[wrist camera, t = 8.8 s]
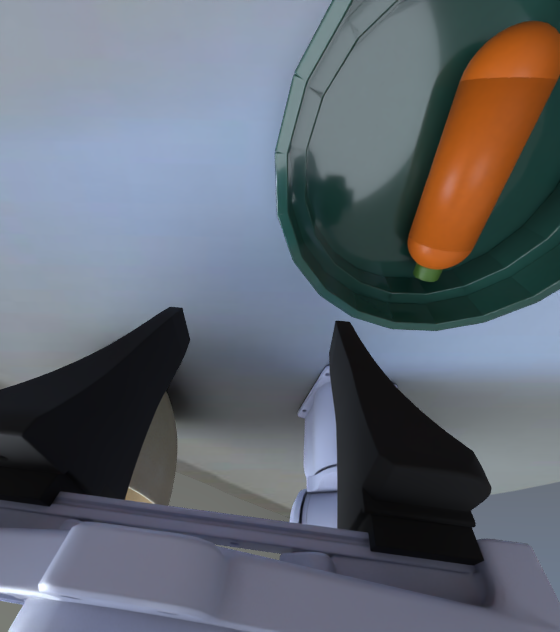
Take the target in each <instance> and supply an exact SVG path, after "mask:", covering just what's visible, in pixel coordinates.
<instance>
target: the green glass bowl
mask: <svg viewBox="0 0 560 632" xmlns="http://www.w3.org/2000/svg"><path fill="white" fill-rule="evenodd" d="M526 21H541V22H545V23H548V24H550V25H551V26H553V27H554V28H556V29H557V31H558V32H559V34H560V0H332V2H331V4H330V6H329V8H328V10H327V11H326V13H325V15H324V17H323V19H322V21H321V23H320V25H319V27H318V29H317V30H316V32H315V34H314V36H313V38H312V40H311V42H310V44H309V46H308V47H307V49H306V51H305V53H304V55H303V57H302V59H301V61H300V63H299V65H298V66H297V68H296V70H295V74H294V75H293V79H292V83H291V87H290V91H289V95H288V99H287V104H286V108H285V112H284V116H283V120H282V124H281V128H280V133H279V137H278V141H277V145H276V149H275V173H276V204H277V216H278V219H279V222H280V225H281V228H282V230H283V233H284V236H285V239H286V242H287V245H288V248H289V251H290V254H291V256H292V259H293V261H294V263H295V264H296V265H297V267H298V268H299V269H300V271H301V272H302V273H303V274H304V276H305V277H306V278H307V280H308V281H309V282H310V284H311V285H312V286H313V287H314V289H315V290H316V291H317V293H318V294H319V295H320V296H321V297H323V298H324V299H326V300H327V301H329V302H330V303H332V304H333V305H335V306H336V307H338V308H339V309H341V310H342V311H344V312H345V313H347V314H348V315H350V316H351V317H354V318H357V319H360V320H364V321H367V322H370V323H373V324H377V325H380V326H383V327H386V328H390V329H404V330H426V331H438V330H444V329H450V328H456V327H461V326H467V325H473V324H479V323H484V322H487V321H489V320H492V319H495V318H497V317H500V316H503V315H505V314H508V313H511V312H513V311H516V310H519V309H521V308H524V307H527V306H529V305H532V304H535V303H537V302H539V301H541V300H542V299H544V298H546V297H547V296H549V295H551V294H552V293H554V292H556V291H558V290H559V289H560V75H559V78H558V80H557V82H556V84H555V86H554V88H553V90H552V92H551V94H550V96H549V98H548V100H547V102H546V104H545V106H544V108H543V110H542V112H541V114H540V116H539V118H538V120H537V122H536V124H535V126H534V128H533V130H532V132H531V134H530V136H529V138H528V140H527V142H526V144H525V146H524V148H523V150H522V152H521V154H520V156H519V158H518V160H517V162H516V164H515V166H514V168H513V170H512V172H511V174H510V176H509V178H508V180H507V182H506V184H505V186H504V188H503V190H502V192H501V194H500V196H499V198H498V200H497V202H496V204H495V206H494V208H493V210H492V212H491V214H490V216H489V218H488V220H487V222H486V224H485V226H484V228H483V230H482V232H481V234H480V236H479V238H478V240H477V242H476V244H475V246H474V248H473V250H472V251H471V253H470V254H469V255H468V256H467V257H466V258H465V259H464V260H463V261H462V262H460V263H459V264H457V265H455V266H453V267H450V268H446V269H443V270H442V273H441V275H440V277H439V279H438V280H437V281H435V282H427V281H423V280H420V279H418V278H416V277H415V276H414V275H413V270H414V268H415V265H416V262H415V261H414V259H413V258H412V257H411V255H410V253H409V250H408V236H409V232H410V229H411V226H412V223H413V220H414V217H415V214H416V211H417V208H418V205H419V202H420V199H421V196H422V193H423V190H424V187H425V184H426V181H427V178H428V175H429V172H430V169H431V166H432V163H433V160H434V157H435V154H436V151H437V148H438V145H439V142H440V139H441V136H442V133H443V130H444V127H445V124H446V121H447V118H448V115H449V112H450V109H451V106H452V103H453V100H454V97H455V94H456V91H457V88H458V84H459V82H460V79H461V77H462V75H463V72H464V70H465V69H466V67H467V65H468V64H469V62H470V60H471V59H472V58H473V57H474V55H475V54H476V53H477V51H478V50H479V49H480V48H481V47H482V46H483V45H484V44H485V43H486V42H487V41H488V40H490V39H491V38H492V37H494V36H495V35H496V34H498V33H499V32H501V31H503V30H505V29H506V28H508V27H510V26H513V25H516V24H518V23H521V22H526Z"/></svg>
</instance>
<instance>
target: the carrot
mask: <svg viewBox="0 0 560 632" xmlns="http://www.w3.org/2000/svg"><path fill="white" fill-rule="evenodd" d="M559 75H560V34H559V32H558V31H557V29H556V28H554V27H553V26H551V25H550V24H548V23H545V22H541V21H526V22H521V23H518V24H516V25H513V26H510V27H508V28H506V29H505V30H503V31H501V32H499V33H498V34H496V35H495V36H494V37H492V38H491V39H490V40H488V41H487V42H486V43H485V44H484V45H483V46H482V47H481V48H480V49H479V50H478V51H477V53H476V54H475V55H474V57H473V58H472V59H471V60H470V62H469V64H468V65H467V67H466V69H465V70H464V72H463V75H462V77H461V79H460V82H459V84H458V88H457V91H456V94H455V97H454V100H453V103H452V106H451V109H450V112H449V115H448V118H447V121H446V124H445V127H444V130H443V133H442V136H441V139H440V142H439V145H438V148H437V151H436V154H435V157H434V160H433V163H432V166H431V169H430V172H429V175H428V178H427V181H426V184H425V187H424V190H423V193H422V196H421V199H420V202H419V205H418V208H417V211H416V214H415V217H414V220H413V223H412V226H411V229H410V232H409V236H408V250H409V253H410V255H411V257H412V258H413V259H414V261H415V262H416V265H415V268H414V270H413V275H414V276H415V277H416V278H418V279H420V280H423V281H427V282H435V281H437V280H438V279H439V277H440V275H441V273H442V270H443V269H446V268H450V267H453V266H455V265H457V264H459V263H460V262H462V261H463V260H464V259H465V258H466V257H467V256H468V255H469V254H470V253H471V251H472V250H473V248H474V246H475V244H476V242H477V240H478V238H479V236H480V234H481V232H482V230H483V228H484V226H485V224H486V222H487V220H488V218H489V216H490V214H491V212H492V210H493V208H494V206H495V204H496V202H497V200H498V198H499V196H500V194H501V192H502V190H503V188H504V186H505V184H506V182H507V180H508V178H509V176H510V174H511V172H512V170H513V168H514V166H515V164H516V162H517V160H518V158H519V156H520V154H521V152H522V150H523V148H524V146H525V144H526V142H527V140H528V138H529V136H530V134H531V132H532V130H533V128H534V126H535V124H536V122H537V120H538V118H539V116H540V114H541V112H542V110H543V108H544V106H545V104H546V102H547V100H548V98H549V96H550V94H551V92H552V90H553V88H554V86H555V84H556V82H557V80H558V78H559Z"/></svg>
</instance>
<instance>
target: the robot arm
mask: <svg viewBox="0 0 560 632" xmlns="http://www.w3.org/2000/svg"><path fill="white" fill-rule="evenodd" d="M189 342H190V337H189V333H188V329H187V325H186V321H185V317H184V313H183V309H182V308H178V307H169V308H167V309H165V310H164V311H162V312H161V313H159V314H158V315H156V316H155V317H153V318H152V319H150V320H149V321H147V322H146V323H144V324H142V325H141V326H139V327H138V328H136V329H135V330H133V331H132V332H130V333H128V334H127V335H125V336H123V337H122V338H120V339H118V340H117V341H115V342H113V343H112V344H110V345H108V346H106V347H105V348H103V349H101V350H99V351H97V352H95V353H93V354H91V355H89V356H87V357H85V358H83V359H81V360H78V361H76V362H74V363H71V364H69V365H67V366H65V367H62V368H60V369H58V370H55V371H53V372H50V373H48V374H45V375H42V376H40V377H37V378H34V379H31V380H29V381H26V382H23V383H20V384H17V385H14V386H11V387H7V388H4V389H1V390H0V601H5V602H11V603H17V604H22V605H23V607H22V608H21V610H20V612H19V613H18V615H17V617H16V618H15V620H14V622H13V623H12V625H11V627H10V629H9V630H8V632H560V602H559V601H558V599H557V597H556V595H555V593H554V591H553V589H552V587H551V585H550V583H549V581H548V579H547V577H546V575H545V573H544V571H543V569H542V567H541V565H540V563H539V561H538V559H537V557H536V555H535V553H534V551H533V549H532V547H531V546H530V545H528V544H525V543H518V542H511V541H503V540H495V539H479V540H476V538H475V535H474V532H473V530H472V527H475V520H474V518H473V515H472V513H471V510H472V509H474V508H475V507H476V506H478V505H479V504H480V503H482V502H483V501H484V500H485V499H486V498H487V497H488V496H489V495H490V493H491V485H490V483H489V481H488V479H487V477H486V475H485V472H484V470H483V468H482V466H481V464H480V463H479V461H478V459H477V457H476V456H475V454H474V452H473V451H472V450H470V449H469V448H468V447H466V446H465V445H464V444H462V443H461V442H460V441H458V440H457V439H455V438H454V437H453V436H451V435H450V434H449V433H447V432H446V431H445V430H443V429H442V428H441V427H440V426H438V425H437V424H436V423H435V422H433V421H432V420H431V419H430V418H429V417H427V416H426V415H425V414H424V413H423V412H422V411H420V410H419V409H418V408H417V407H416V406H415V405H414V404H413V403H412V402H411V401H410V400H409V399H408V398H406V397H405V396H404V395H403V394H402V393H401V392H400V391H399V390H398V387H397V385H396V384H393V383H392V382H391V381H390V380H389V378H388V377H387V376H386V375H385V374H384V372H383V371H382V370H381V369H380V367H379V366H378V365H377V363H376V362H375V361H374V359H373V358H372V357H371V355H370V354H369V352H368V351H367V349H366V348H365V346H364V345H363V343H362V342H361V340H360V338H359V337H358V335H357V333H356V332H355V330H354V328H353V326H352V325H351V323H350V322H346V321H336V322H335V327H334V332H333V337H332V342H331V347H330V352H329V366H326V367H325V368H324V370H323V372H322V373H321V375H320V377H319V378H318V380H317V381H316V383H315V385H314V386H313V388H312V390H311V391H310V393H309V395H308V396H307V398H306V399H305V401H304V403H303V404H302V406H301V408H300V409H299V411H298V416H299V417H301V418H305V435H304V472H305V475H306V478H307V489H303V490H301V491H300V492H299V494H298V495H297V498H296V500H295V501H294V503H293V506H292V510H291V515H290V522H285V521H277V520H270V519H263V518H255V517H248V516H240V515H233V514H226V513H218V512H210V511H203V510H196V509H188V508H181V507H174V506H166V505H159V504H151V503H144V502H136V501H129V500H125V497H126V494H127V491H128V488H129V484H130V481H131V478H132V475H133V471H134V468H135V465H136V463H137V460H138V457H139V454H140V451H141V448H142V445H143V443H144V440H145V437H146V435H147V432H148V430H149V427H150V424H151V422H152V420H153V417H154V415H155V412H156V410H157V407H158V405H159V403H160V401H161V399H162V397H163V395H164V393H165V392H166V390H167V388H168V386H169V384H170V382H171V381H172V379H173V377H174V375H175V373H176V371H177V370H178V368H179V366H180V364H181V362H182V360H183V358H184V356H185V353H186V351H187V348H188V345H189ZM215 544H216V545H224V546H230V547H237V548H244V549H251V550H258V551H265V552H273V553H279V554H281V555H280V560H276V559H271V558H267V557H263V556H258V555H254V554H249V553H245V552H241V551H237V550H232V549H228V548H223V547H219V546H216V545H215Z"/></svg>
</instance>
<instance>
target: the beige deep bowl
mask: <svg viewBox="0 0 560 632" xmlns="http://www.w3.org/2000/svg"><path fill="white" fill-rule="evenodd" d="M176 462H177V430H176V423H175V417H174V413H173V409H172V406H171V403H170V400H169V397H168V394H167V392H165V393H164V395H163V397H162V399H161V401H160V403H159V405H158V407H157V410H156V412H155V415H154V417H153V420H152V422H151V424H150V427H149V430H148V432H147V435H146V437H145V440H144V443H143V445H142V448H141V451H140V454H139V457H138V460H137V463H136V465H135V468H134V471H133V475H132V478H131V481H130V484H129V488H128V491H127V494H126V497H125V500H129V501H136V502H144V503H151V504H159V505H166V506H168V505H169V501H170V497H171V493H172V488H173V483H174V478H175V471H176Z"/></svg>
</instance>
